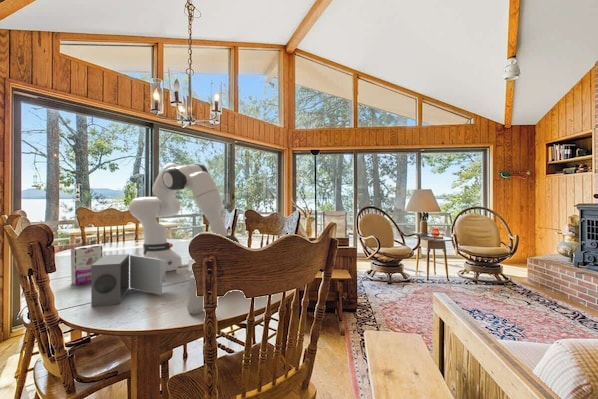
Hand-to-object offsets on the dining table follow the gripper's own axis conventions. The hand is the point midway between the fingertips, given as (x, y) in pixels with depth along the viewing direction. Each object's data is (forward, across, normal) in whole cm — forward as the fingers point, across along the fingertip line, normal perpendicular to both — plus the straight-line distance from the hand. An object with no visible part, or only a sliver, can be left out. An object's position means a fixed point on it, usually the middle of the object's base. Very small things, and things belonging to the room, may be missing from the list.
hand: (176, 269), depth 127 cm
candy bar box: (+39, -24, +9) cm, 46 cm away
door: (+11, -2, +8) cm, 14 cm away
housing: (+24, +2, +9) cm, 25 cm away
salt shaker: (-7, +28, +9) cm, 30 cm away
